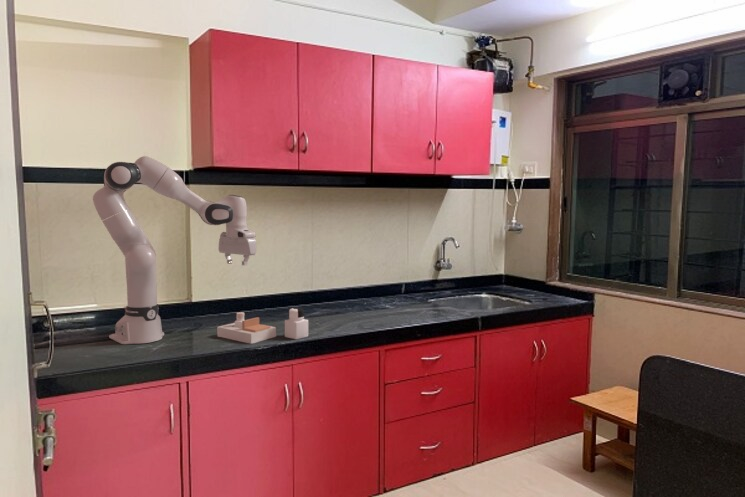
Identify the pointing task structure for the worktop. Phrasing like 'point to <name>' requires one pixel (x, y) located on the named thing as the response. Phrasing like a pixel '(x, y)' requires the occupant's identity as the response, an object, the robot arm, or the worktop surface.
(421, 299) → the worktop surface
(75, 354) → the worktop surface
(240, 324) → the salt shaker
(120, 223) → the robot arm
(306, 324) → the white stepped block
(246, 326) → the orange l-shaped bracket
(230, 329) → the white tray
